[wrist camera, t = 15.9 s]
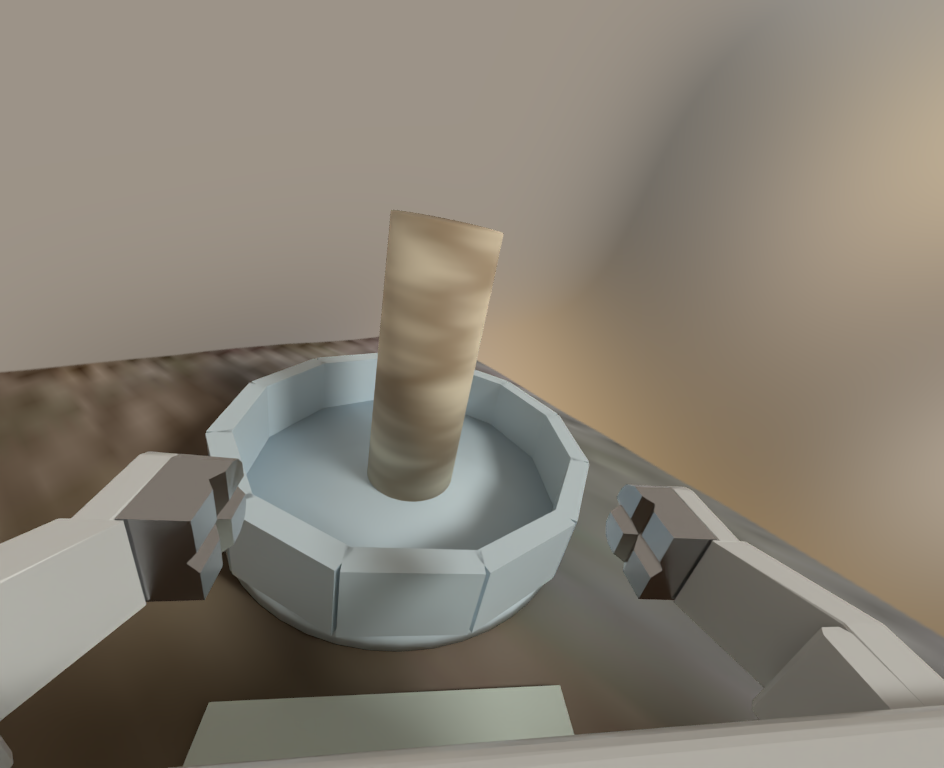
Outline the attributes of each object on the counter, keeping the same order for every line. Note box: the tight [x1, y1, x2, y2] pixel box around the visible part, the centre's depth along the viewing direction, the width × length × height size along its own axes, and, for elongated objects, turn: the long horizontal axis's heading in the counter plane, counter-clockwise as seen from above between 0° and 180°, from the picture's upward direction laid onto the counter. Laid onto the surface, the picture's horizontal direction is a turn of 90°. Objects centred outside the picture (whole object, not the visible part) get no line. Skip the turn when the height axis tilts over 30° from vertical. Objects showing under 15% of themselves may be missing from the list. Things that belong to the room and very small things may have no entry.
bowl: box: [205, 353, 589, 652], centre depth 22 cm, size 19×19×4 cm
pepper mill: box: [367, 210, 503, 502], centre depth 20 cm, size 5×5×14 cm
